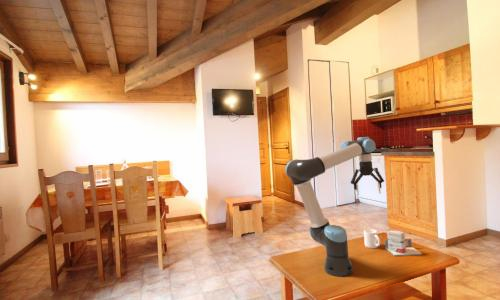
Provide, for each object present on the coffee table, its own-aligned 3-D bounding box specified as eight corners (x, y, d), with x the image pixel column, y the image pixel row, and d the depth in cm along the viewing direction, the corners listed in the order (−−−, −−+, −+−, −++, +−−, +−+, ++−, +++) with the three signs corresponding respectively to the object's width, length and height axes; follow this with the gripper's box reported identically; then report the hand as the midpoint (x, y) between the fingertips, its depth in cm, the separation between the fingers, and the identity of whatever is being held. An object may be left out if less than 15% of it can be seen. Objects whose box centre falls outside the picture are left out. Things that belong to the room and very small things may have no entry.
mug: (385, 249, 169) (384, 233, 169) (375, 251, 167) (373, 235, 167) (372, 243, 181) (370, 228, 181) (362, 245, 178) (360, 230, 179)
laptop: (394, 256, 157) (393, 246, 158) (385, 249, 169) (384, 240, 170) (422, 254, 156) (421, 245, 156) (411, 247, 168) (410, 238, 168)
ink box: (406, 251, 161) (404, 232, 161) (402, 253, 158) (401, 234, 158) (391, 248, 168) (390, 229, 168) (388, 250, 164) (386, 231, 165)
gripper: (347, 162, 165) (350, 196, 165) (388, 159, 164) (391, 193, 163) (343, 162, 173) (346, 194, 172) (382, 159, 171) (385, 191, 171)
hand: (368, 194), depth 168 cm, fingers open, 13 cm apart
